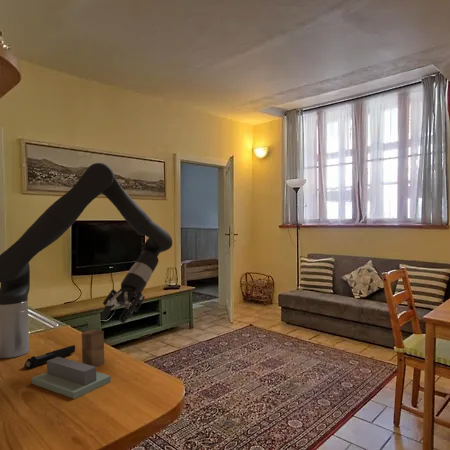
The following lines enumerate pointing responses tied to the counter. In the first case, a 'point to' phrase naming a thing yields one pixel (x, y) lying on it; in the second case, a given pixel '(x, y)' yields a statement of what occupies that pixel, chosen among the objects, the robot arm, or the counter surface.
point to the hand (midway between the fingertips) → (111, 319)
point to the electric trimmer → (48, 357)
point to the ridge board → (69, 385)
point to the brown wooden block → (93, 347)
